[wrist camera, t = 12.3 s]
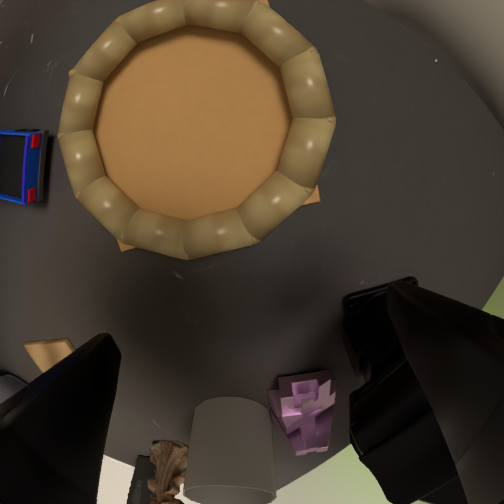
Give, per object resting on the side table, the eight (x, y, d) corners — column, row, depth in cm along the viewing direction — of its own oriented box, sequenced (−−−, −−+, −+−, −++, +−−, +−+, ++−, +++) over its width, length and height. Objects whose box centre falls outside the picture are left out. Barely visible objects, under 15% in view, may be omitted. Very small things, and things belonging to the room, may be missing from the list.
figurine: (186, 436, 29) (171, 542, 16) (211, 455, 32) (204, 549, 18) (142, 440, 31) (121, 532, 17) (168, 459, 33) (155, 543, 19)
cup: (221, 385, 25) (214, 478, 16) (286, 413, 27) (295, 494, 18) (180, 419, 28) (167, 494, 19) (239, 441, 30) (238, 511, 21)
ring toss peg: (67, 338, 23) (37, 383, 17) (106, 392, 26) (87, 437, 20) (25, 342, 24) (-2, 379, 18) (61, 390, 27) (41, 428, 21)
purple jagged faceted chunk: (264, 375, 25) (268, 428, 19) (338, 364, 24) (354, 414, 19) (272, 420, 28) (275, 465, 22) (333, 411, 27) (343, 454, 22)
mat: (266, 2, 13) (266, -2, 12) (318, 199, 18) (320, 201, 18) (72, 72, 14) (68, 71, 14) (124, 248, 20) (121, 252, 19)
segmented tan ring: (286, -19, 12) (290, -36, 10) (347, 214, 18) (360, 226, 16) (56, 63, 13) (36, 59, 11) (117, 270, 20) (104, 286, 17)
